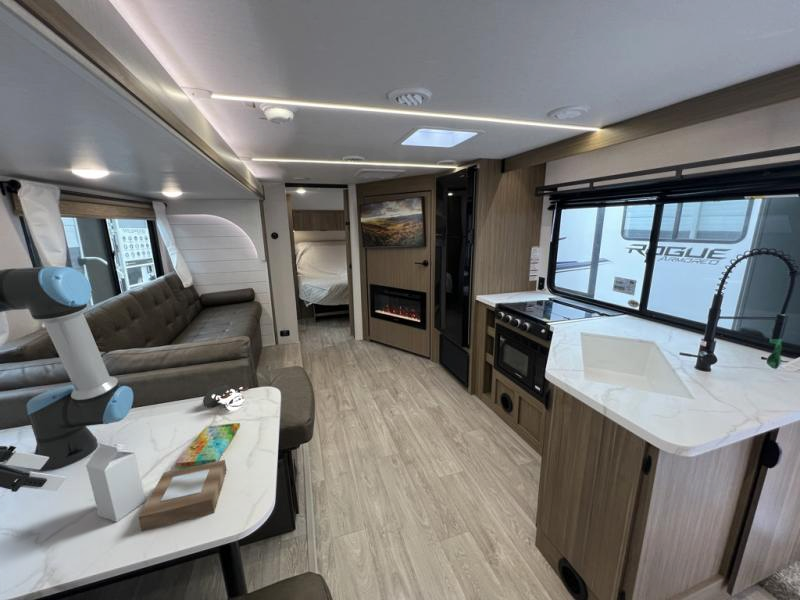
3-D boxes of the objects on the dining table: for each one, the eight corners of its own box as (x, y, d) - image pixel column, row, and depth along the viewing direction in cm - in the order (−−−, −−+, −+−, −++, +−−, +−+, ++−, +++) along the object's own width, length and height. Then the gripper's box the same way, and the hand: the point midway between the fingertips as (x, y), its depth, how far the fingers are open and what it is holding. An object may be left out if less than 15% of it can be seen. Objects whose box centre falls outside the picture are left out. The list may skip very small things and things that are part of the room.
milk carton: (116, 522, 82) (100, 456, 78) (98, 516, 84) (82, 451, 81) (146, 501, 89) (132, 439, 85) (128, 495, 91) (114, 434, 87)
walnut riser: (166, 484, 94) (163, 471, 94) (226, 471, 99) (224, 458, 98) (141, 530, 79) (137, 516, 78) (214, 512, 84) (211, 498, 83)
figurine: (230, 381, 148) (252, 383, 138) (233, 401, 148) (256, 404, 138) (197, 392, 136) (219, 394, 126) (201, 414, 136) (224, 418, 126)
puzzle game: (174, 460, 98) (205, 423, 118) (177, 474, 99) (207, 435, 118) (215, 456, 99) (239, 420, 119) (217, 469, 100) (241, 432, 120)
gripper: (-108, 452, 64) (25, 471, 79) (-104, 502, 51) (54, 513, 66) (-70, 414, 67) (50, 440, 83) (-57, 452, 54) (83, 474, 70)
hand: (52, 473), depth 74 cm, fingers open, 13 cm apart
